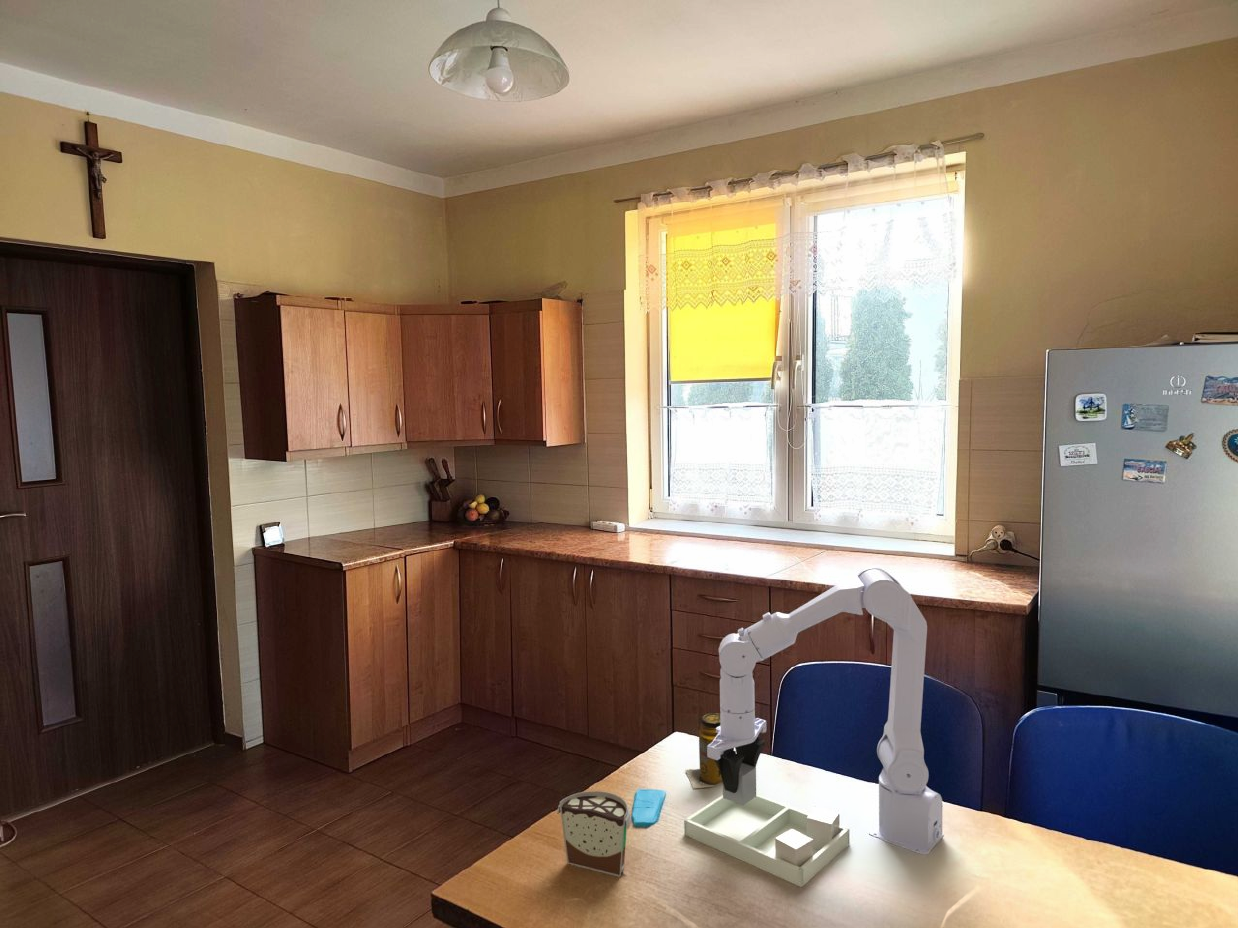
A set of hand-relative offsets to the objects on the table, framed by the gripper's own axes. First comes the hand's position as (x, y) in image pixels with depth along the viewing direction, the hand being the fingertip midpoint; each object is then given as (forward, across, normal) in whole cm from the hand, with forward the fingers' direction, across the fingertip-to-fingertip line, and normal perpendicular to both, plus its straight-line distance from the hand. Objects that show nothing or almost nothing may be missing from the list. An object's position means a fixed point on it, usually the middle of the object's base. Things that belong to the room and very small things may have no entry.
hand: (738, 785), depth 134 cm
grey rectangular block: (+2, 0, 0) cm, 2 cm away
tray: (+8, 0, +6) cm, 9 cm away
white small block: (+7, -4, +14) cm, 16 cm away
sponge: (+8, +5, -16) cm, 19 cm away
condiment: (+8, -12, -14) cm, 20 cm away
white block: (+7, +5, +14) cm, 16 cm away
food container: (+8, +22, -12) cm, 26 cm away
